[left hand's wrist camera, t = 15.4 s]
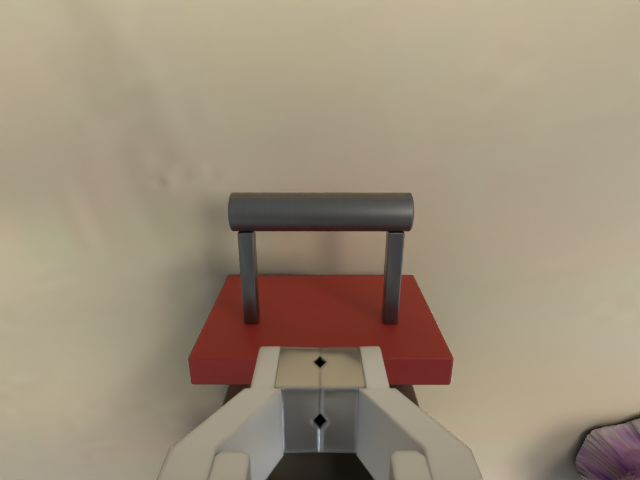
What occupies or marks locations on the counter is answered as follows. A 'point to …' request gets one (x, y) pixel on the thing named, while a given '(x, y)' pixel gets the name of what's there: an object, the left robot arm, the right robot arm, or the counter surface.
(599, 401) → the counter surface
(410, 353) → the drawer
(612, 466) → the figurine
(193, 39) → the counter surface
